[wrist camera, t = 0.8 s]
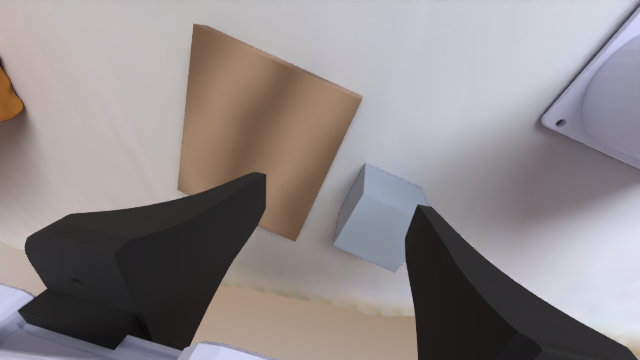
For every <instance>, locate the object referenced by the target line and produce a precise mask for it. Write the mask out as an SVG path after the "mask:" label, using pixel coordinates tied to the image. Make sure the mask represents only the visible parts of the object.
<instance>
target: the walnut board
mask: <svg viewBox="0 0 640 360" xmlns="http://www.w3.org/2000/svg"><path fill="white" fill-rule="evenodd" d="M361 100H362V96H361V95H359V94H356V93H354V92H352V91H350V90H348V89H345V88H343V87H341V86H339V85H337V84H334V83H332V82H330V81H328V80H326V79H323V78H321V77H319V76H317V75H315V74H312V73H310V72H308V71H306V70H304V69H301V68H299V67H297V66H295V65H293V64H290V63H288V62H286V61H284V60H282V59H279V58H277V57H275V56H273V55H271V54H268V53H266V52H264V51H262V50H259V49H257V48H255V47H253V46H251V45H248V44H246V43H244V42H242V41H240V40H237V39H235V38H233V37H231V36H229V35H226V34H224V33H222V32H220V31H218V30H215V29H213V28H211V27H209V26H206V25H199V24H193V35H192V45H191V56H190V66H189V76H188V87H187V97H186V107H185V118H184V128H183V138H182V149H181V159H180V169H179V180H178V190H180V191H182V192H184V193H186V194H189V195H194V194H197V193H200V192H203V191H206V190H208V189H211V188H214V187H217V186H219V185H222V184H224V183H227V182H229V181H232V180H234V179H236V178H239V177H241V176H244V175H246V174H249V173H252V172H259V173H264V174H266V209H265V212H264V214H263V216H262V218H261V220H260V222H259V224H258V225H259V226H261V227H263V228H266V229H268V230H270V231H273V232H275V233H277V234H279V235H282V236H284V237H286V238H288V239H291V240H293V241H296V239H297V237H298V235H299V233H300V230H301V228H302V226H303V224H304V222H305V220H306V218H307V215H308V213H309V211H310V209H311V207H312V205H313V203H314V200H315V198H316V196H317V194H318V192H319V190H320V188H321V185H322V183H323V181H324V179H325V177H326V175H327V173H328V171H329V168H330V166H331V164H332V162H333V160H334V158H335V156H336V153H337V151H338V149H339V147H340V145H341V143H342V141H343V138H344V136H345V134H346V132H347V130H348V128H349V126H350V124H351V121H352V119H353V117H354V115H355V113H356V111H357V109H358V106H359V104H360V102H361Z"/></svg>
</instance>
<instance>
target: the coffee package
mask: <svg viewBox="0 0 640 360" xmlns="http://www.w3.org/2000/svg"><path fill="white" fill-rule="evenodd" d="M22 109H23V103H22V101H21V100H20V99H19V98H18V97H17V96H16V95H15V93H14V92H13V90H12V87H11V81H10V79H9V78H8V76H7V75H6V73H5V72H4V71H3V69H2V68H1V67H0V121H6V120H9V119H12V118H13V117H15V116H16V115H17V114H19V113H20V112H21V111H22Z"/></svg>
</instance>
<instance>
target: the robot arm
mask: <svg viewBox="0 0 640 360" xmlns="http://www.w3.org/2000/svg"><path fill="white" fill-rule="evenodd" d="M561 119H562V122H561V124H559V125H557V126H556V123H557V121H559V120H561ZM541 123H542V124H543V125H544V126H546V127H548V128H550V129H552V130H555V131H557V132H559V133H561V134H563V135H565V136H568V137H570V138H572V139H574V140H576V141H579V142H581V143H583V144H585V145H587V146H589V147H592V148H594V149H596V150H598V151H600V152H603V153H605V154H607V155H609V156H611V157H614V158H616V159H618V160H620V161H622V162H624V163H627V164H629V165H631V166H633V167H635V168H638V169H640V7H639V8H638V9H637V10H636V11H635V12H634V13H633V14H632V16H631V17H630V18H629V19H628V20H627V21H626V22H625V24H624V25H623V26H622V27H621V28H620V29H619V30H618V31H617V33H616V34H615V35H614V36H613V37H612V38H611V39H610V41H609V42H608V43H607V44H606V45H605V46H604V47H603V48H602V50H601V51H600V52H599V53H598V54H597V55H596V56H595V58H594V59H593V60H592V61H591V62H590V63H589V64H588V65H587V67H586V68H585V69H584V70H583V71H582V72H581V73H580V75H579V76H578V77H577V78H576V79H575V80H574V81H573V82H572V84H571V85H570V86H569V87H568V88H567V89H566V90H565V92H564V93H563V94H562V95H561V96H560V97H559V98H558V99H557V101H556V102H555V103H554V104H553V105H552V106H551V107H550V109H549V110H548V111H547V112H546V113H545V114H544V115H543V117H542V119H541ZM265 209H266V174H264V173H259V172H252V173H249V174H246V175H244V176H241V177H239V178H236V179H234V180H232V181H229V182H227V183H224V184H222V185H219V186H217V187H214V188H211V189H208V190H206V191H203V192H200V193H197V194H194V195H191V196H187V197H183V198H180V199H176V200H172V201H167V202H162V203H157V204H153V205H148V206H142V207H135V208H128V209H121V210H112V211H101V212H89V213H75V214H69V215H67V216H65V217H63V218H61V219H60V220H58V221H56V222H54V223H52V224H50V225H48V226H47V227H45V228H43V229H41V230H39V231H37V232H35V233H34V234H32V235H30V236H29V237H28V238H27V240H26V243H25V252H26V255H27V257H28V259H29V261H30V263H31V264H32V266H33V267H34V269H35V270H36V272H37V274H38V275H39V276H40V278H41V280H42V281H43V283H44V284H45V286H46V287H47V288H48V289H46V290H45V291H44V292H42V293H41V294H39V295H38V296H37V297H35V296H34V295H33V294H31V293H30V292H28V291H25V290H22V289H19V288H16V287H12V286H8V285H5V284H2V283H0V360H279V359H276V358H272V357H269V356H265V355H262V354H258V353H254V352H251V351H248V350H244V349H241V348H237V347H234V346H230V345H227V344H222V343H215V342H207V341H203V342H201V343H198V344H195V345H192V346H190V344H191V342H192V340H193V337H194V335H195V333H196V330H197V329H198V326H199V325H200V323H201V321H202V318H203V316H204V314H205V312H206V310H207V308H208V306H209V304H210V302H211V300H212V298H213V296H214V294H215V292H216V291H217V288H218V287H219V285H220V283H221V281H222V279H223V277H224V276H225V274H226V272H227V270H228V268H229V267H230V265H231V263H232V262H233V260H234V259H235V257H236V256H237V254H238V253H239V252H240V250H241V249H242V247H243V246H244V244H245V243H246V242H247V240H248V239H249V237H250V236H251V234H252V233H253V231H254V230H255V228H256V227H257V225H258V224H259V222H260V220H261V218H262V216H263V214H264V212H265ZM405 259H406V264H407V270H408V276H409V281H410V286H411V292H412V297H413V303H414V310H415V319H416V332H417V347H418V360H638V359H637V358H636V357H635V356H634V354H633V353H632V352H631V351H630V350H629V349H628V348H627V347H625V346H623V345H622V344H620V343H618V342H616V341H614V340H612V339H610V338H609V337H607V336H605V335H603V334H601V333H599V332H597V331H596V330H594V329H592V328H590V327H588V326H586V325H584V324H583V323H581V322H579V321H577V320H575V319H574V318H572V317H570V316H569V315H567V314H565V313H564V312H562V311H560V310H559V309H557V308H555V307H554V306H552V305H550V304H549V303H547V302H546V301H544V300H542V299H541V298H539V297H538V296H536V295H535V294H533V293H532V292H530V291H529V290H527V289H526V288H524V287H523V286H521V285H520V284H518V283H517V282H515V281H514V280H513V279H511V278H510V277H509V276H507V275H506V274H504V273H503V272H502V271H501V270H499V269H498V268H497V267H495V266H494V265H493V264H492V263H490V262H489V261H488V260H487V259H485V258H484V257H483V256H482V255H481V254H480V253H479V252H477V251H476V250H475V249H474V248H473V247H472V246H471V245H470V244H469V243H467V242H466V241H465V240H464V239H463V238H462V237H461V236H460V235H459V234H458V233H457V232H456V231H455V230H454V229H453V228H452V227H451V226H450V225H449V224H448V223H447V222H446V221H445V220H444V219H443V218H442V217H441V216H440V215H439V214H438V213H437V212H436V211H435V210H434V209H433V208H432V207H429V206H424V205H419V204H417V207H416V209H415V212H414V215H413V217H412V220H411V223H410V225H409V228H408V231H407V233H406V236H405Z"/></svg>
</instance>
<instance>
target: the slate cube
mask: <svg viewBox="0 0 640 360" xmlns="http://www.w3.org/2000/svg"><path fill="white" fill-rule="evenodd" d="M417 204H419V205H424V206H428V203H427V201H426V198H425V195H424V192H423V189H422V188H421V187H419V186H417V185H415V184H412V183H410V182H408V181H406V180H404V179H401V178H399V177H397V176H395V175H392V174H390V173H388V172H386V171H384V170H381V169H379V168H377V167H375V166H372V165H370V164H368V163H365V165H364V167H363V168H362V170H361V172H360V174H359V176H358V178H357V179H356V181H355V183H354V185H353V187H352V188H351V190H350V192H349V194H348V196H347V198H346V199H345V201H344V203H343V205H342V207H341V209H340V214H339V219H338V223H337V228H336V233H335V238H334V243H333V246H335V247H338V248H340V249H342V250H344V251H347V252H349V253H351V254H353V255H356V256H358V257H360V258H362V259H365V260H367V261H369V262H371V263H374V264H376V265H378V266H381V267H383V268H385V269H387V270H390V271H392V272H394V273H395V272H396V271H397V270H398V269H399V267H400V266H401V265H402V264H403V263H404V262H405V260H406V259H405V236H406V233H407V231H408V228H409V225H410V223H411V220H412V217H413V215H414V212H415V209H416V207H417Z"/></svg>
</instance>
